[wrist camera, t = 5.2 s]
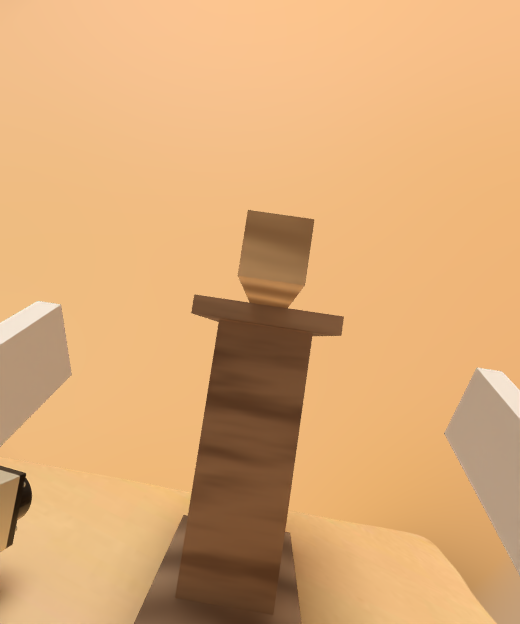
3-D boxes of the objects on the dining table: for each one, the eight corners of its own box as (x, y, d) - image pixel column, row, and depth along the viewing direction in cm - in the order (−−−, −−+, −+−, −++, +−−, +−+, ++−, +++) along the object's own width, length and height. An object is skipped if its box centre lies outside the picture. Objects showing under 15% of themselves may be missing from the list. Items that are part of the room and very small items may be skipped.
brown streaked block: (304, 285, 15) (314, 219, 15) (237, 275, 15) (247, 209, 15) (278, 319, 45) (281, 297, 45) (256, 316, 45) (259, 294, 45)
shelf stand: (306, 704, 25) (356, 318, 27) (118, 670, 25) (182, 292, 27) (287, 540, 45) (317, 326, 47) (183, 522, 45) (217, 311, 47)
